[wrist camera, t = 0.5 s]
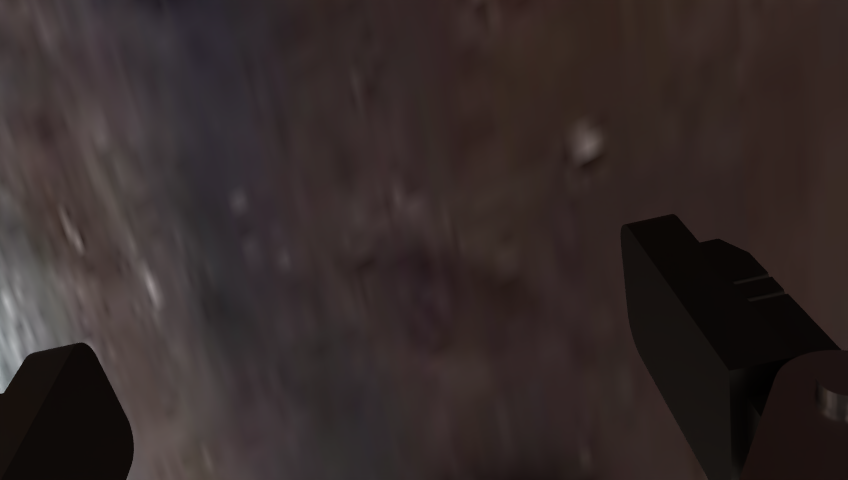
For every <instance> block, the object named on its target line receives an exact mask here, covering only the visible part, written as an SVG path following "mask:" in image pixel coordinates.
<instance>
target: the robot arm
mask: <svg viewBox="0 0 848 480" xmlns="http://www.w3.org/2000/svg"><path fill="white" fill-rule="evenodd" d="M621 248H622V259H623V269H624V279H625V289H626V300H627V310H628V318H629V323H630V328H631V332H632V336H633V339H634V342H635V345H636V348H637V350H638V352H639V354H640V356H641V358H642V360H643V362H644V364H645V366H646V367H647V369H648V371H649V373H650V375H651V376H652V378H653V380H654V382H655V384H656V385H657V387H658V389H659V391H660V393H661V394H662V396H663V398H664V400H665V402H666V404H667V405H668V407H669V409H670V411H671V413H672V414H673V416H674V418H675V420H676V422H677V423H678V425H679V427H680V429H681V431H682V432H683V434H684V436H685V438H686V440H687V442H688V443H689V445H690V447H691V449H692V451H693V452H694V454H695V456H696V458H697V460H698V461H699V463H700V465H701V467H702V469H703V470H704V472H705V474H706V476H707V478H708V480H848V351H846V350H841V349H840V348H839V347H838V346H837V345H836V344H835V343H834V342H833V341H832V340H831V339H830V337H829V336H828V335H827V334H826V333H825V332H824V331H823V330H822V329H821V328H820V327H819V326H818V325H817V324H816V323H815V322H814V321H813V320H812V319H811V317H810V316H809V315H808V314H807V313H806V312H805V311H804V310H803V309H802V308H801V307H800V306H799V305H798V304H797V303H796V302H795V301H794V300H793V299H792V297H791V296H790V295H789V294H785V293H784V289H783V288H782V287H781V286H780V285H779V284H778V283H777V282H776V281H775V280H774V278H773V277H769V275H768V272H767V271H766V270H765V269H764V268H763V267H762V266H761V265H760V264H759V263H758V262H757V261H756V260H755V258H754V257H753V256H752V255H751V254H750V253H749V252H746V251H744V250H742V249H740V248H738V247H736V246H733V245H731V244H729V243H727V242H725V241H722V240H720V239H714V240H710V241H705V242H700V243H699V242H698V240H697V239H696V238H695V237H694V236H693V234H692V233H691V232H690V231H689V230H688V229H687V227H686V226H685V225H684V224H683V223H682V222H681V220H680V219H679V218H678V217H677V216H676V215H674V214H670V215H666V216H661V217H657V218H652V219H648V220H643V221H638V222H634V223H629V224H625V225H623V226H622V228H621ZM133 454H134V443H133V435H132V430H131V427H130V423H129V421H128V419H127V417H126V415H125V413H124V411H123V409H122V407H121V405H120V403H119V401H118V398H117V396H116V394H115V392H114V390H113V388H112V386H111V384H110V382H109V380H108V378H107V376H106V374H105V372H104V370H103V368H102V366H101V364H100V362H99V360H98V358H97V356H96V354H95V353H94V351H93V350H92V348H91V347H90V346H88V345H87V344H85V343H76V344H71V345H67V346H62V347H58V348H53V349H48V350H44V351H39V352H35V353H32V354H30V355H28V356H27V357H26V359H25V360H24V362H23V363H22V365H21V366H20V368H19V370H18V371H17V373H16V374H15V376H14V378H13V379H12V381H11V382H10V384H9V386H8V387H7V389H6V390H5V392H4V393H2V394H0V480H126V479H127V476H128V473H129V470H130V467H131V464H132V461H133Z"/></svg>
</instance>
